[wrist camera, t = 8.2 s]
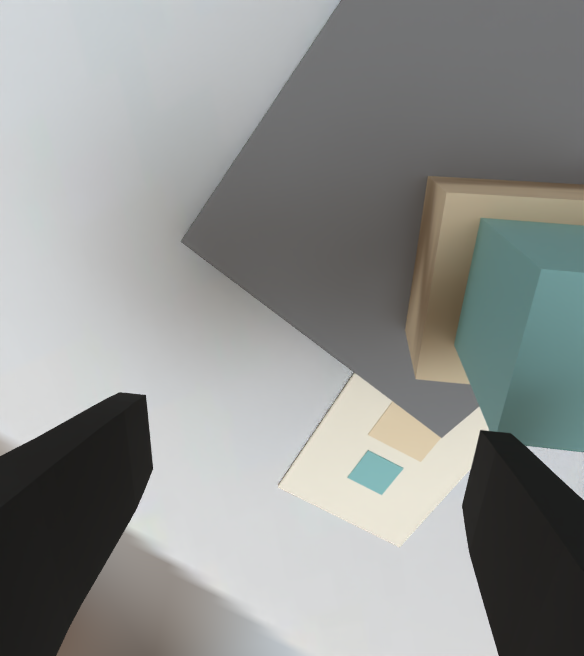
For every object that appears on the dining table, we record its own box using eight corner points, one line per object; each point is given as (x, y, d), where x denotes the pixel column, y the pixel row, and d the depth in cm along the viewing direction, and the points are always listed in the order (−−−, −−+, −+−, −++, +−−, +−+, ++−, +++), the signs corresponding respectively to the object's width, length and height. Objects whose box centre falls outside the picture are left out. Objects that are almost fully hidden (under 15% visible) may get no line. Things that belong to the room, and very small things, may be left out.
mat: (604, -391, 12) (611, -407, 11) (939, 8, 14) (955, 5, 14) (183, 239, 20) (180, 241, 19) (440, 432, 22) (441, 438, 21)
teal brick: (480, 217, 14) (541, 269, 9) (630, 228, 13) (771, 288, 9) (453, 345, 15) (493, 441, 11) (586, 357, 15) (685, 464, 10)
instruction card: (385, 326, 20) (385, 328, 20) (527, 402, 21) (529, 405, 20) (278, 484, 24) (277, 488, 24) (399, 544, 25) (399, 548, 25)
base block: (427, 175, 17) (446, 192, 14) (606, 185, 17) (676, 205, 13) (405, 330, 20) (415, 379, 16) (559, 343, 19) (607, 397, 15)
